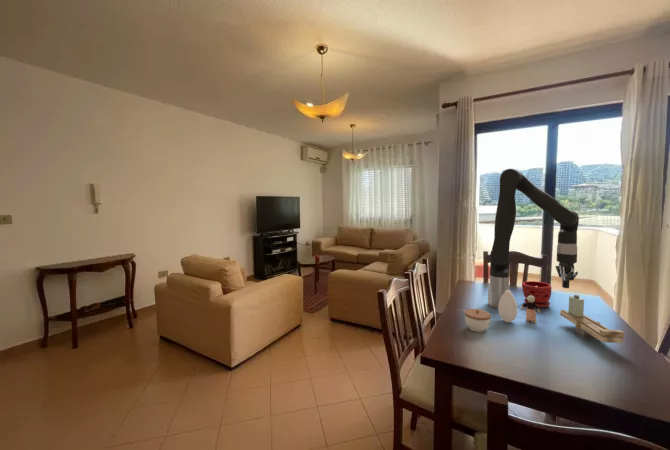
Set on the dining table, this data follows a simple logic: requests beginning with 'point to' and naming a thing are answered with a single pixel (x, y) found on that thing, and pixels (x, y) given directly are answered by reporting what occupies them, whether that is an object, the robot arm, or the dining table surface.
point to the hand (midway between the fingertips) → (565, 287)
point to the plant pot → (537, 292)
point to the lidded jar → (477, 319)
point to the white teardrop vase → (507, 306)
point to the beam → (593, 329)
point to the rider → (576, 306)
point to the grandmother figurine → (530, 309)
